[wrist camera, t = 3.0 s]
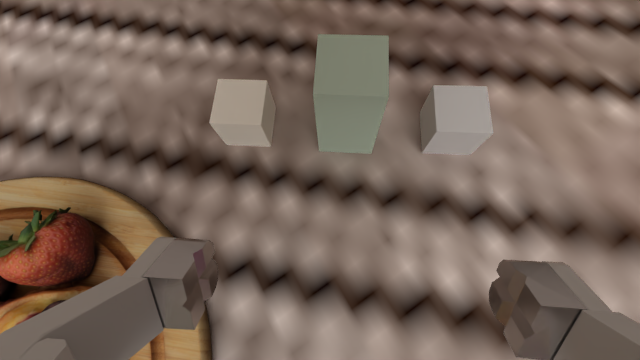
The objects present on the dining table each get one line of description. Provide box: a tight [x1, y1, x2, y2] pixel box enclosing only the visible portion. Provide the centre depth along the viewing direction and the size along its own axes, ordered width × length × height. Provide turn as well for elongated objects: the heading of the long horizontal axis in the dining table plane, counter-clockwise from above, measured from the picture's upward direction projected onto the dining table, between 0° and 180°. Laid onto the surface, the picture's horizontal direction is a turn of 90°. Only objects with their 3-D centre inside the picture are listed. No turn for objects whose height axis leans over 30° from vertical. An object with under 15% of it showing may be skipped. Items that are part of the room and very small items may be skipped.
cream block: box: [209, 79, 276, 147], centre depth 25 cm, size 4×4×4 cm
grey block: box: [420, 85, 493, 155], centre depth 24 cm, size 4×4×4 cm
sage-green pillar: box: [313, 34, 389, 154], centre depth 23 cm, size 4×4×8 cm
